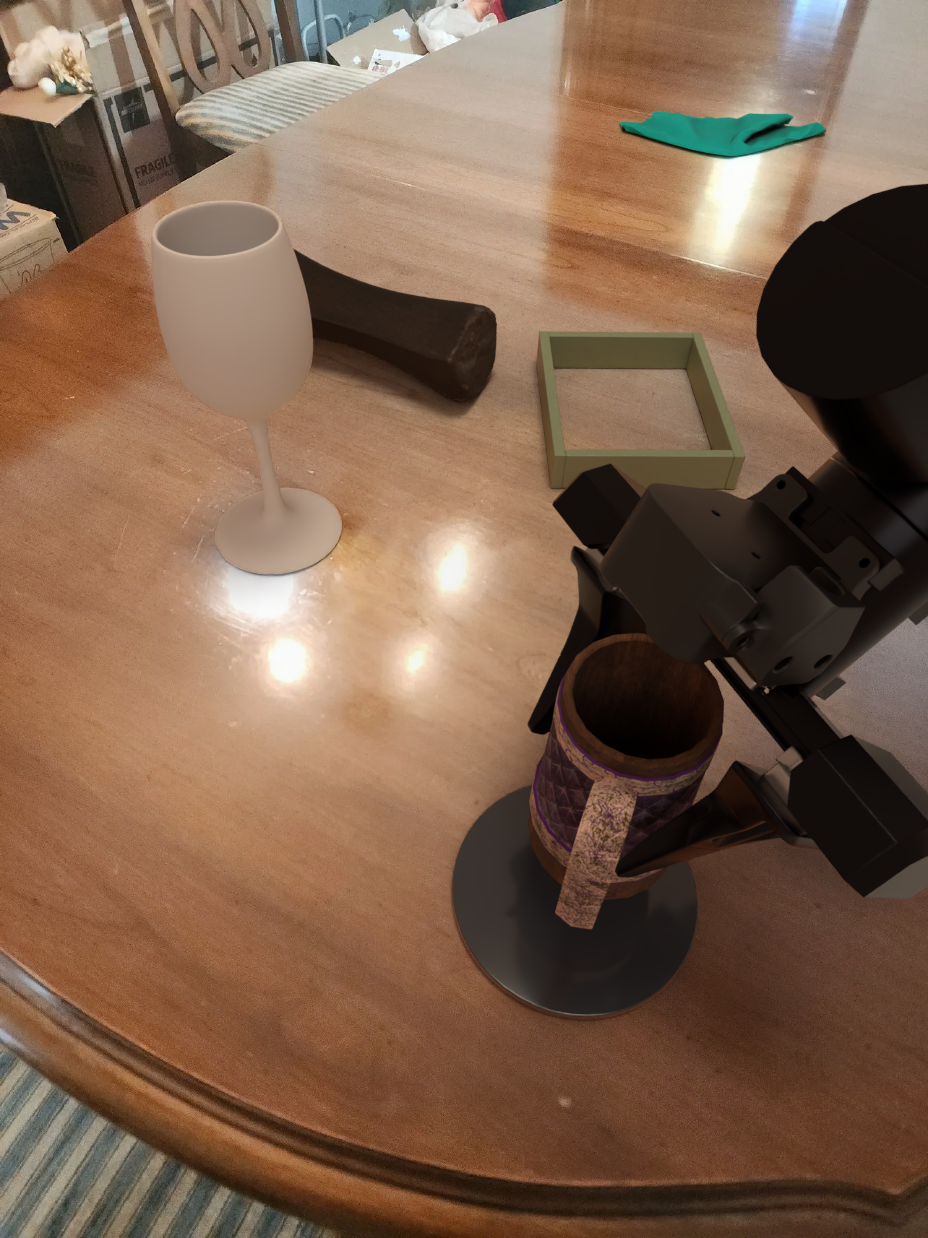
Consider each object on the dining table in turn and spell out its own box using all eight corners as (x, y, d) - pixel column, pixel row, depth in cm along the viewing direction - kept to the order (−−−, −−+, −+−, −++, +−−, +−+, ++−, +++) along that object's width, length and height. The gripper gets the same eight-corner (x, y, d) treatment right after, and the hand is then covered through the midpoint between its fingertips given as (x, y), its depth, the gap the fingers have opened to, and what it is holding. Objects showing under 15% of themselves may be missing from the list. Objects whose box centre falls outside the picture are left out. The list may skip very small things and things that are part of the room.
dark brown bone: (188, 345, 78) (464, 456, 73) (134, 276, 68) (451, 399, 63) (243, 247, 80) (516, 349, 75) (199, 165, 70) (512, 276, 65)
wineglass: (345, 489, 62) (310, 190, 46) (338, 575, 56) (295, 267, 41) (225, 490, 62) (148, 190, 46) (205, 577, 56) (110, 268, 40)
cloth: (613, 147, 105) (615, 127, 103) (624, 108, 114) (626, 89, 112) (831, 169, 102) (837, 148, 100) (824, 127, 111) (830, 107, 109)
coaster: (673, 785, 46) (675, 779, 46) (718, 1020, 38) (721, 1016, 38) (452, 785, 46) (452, 779, 46) (451, 1021, 38) (452, 1017, 38)
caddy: (693, 363, 74) (701, 332, 71) (735, 489, 63) (746, 456, 60) (536, 362, 73) (538, 330, 71) (550, 488, 62) (554, 455, 60)
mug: (555, 744, 43) (584, 591, 34) (691, 796, 42) (763, 651, 32) (476, 930, 37) (485, 808, 28) (631, 999, 36) (696, 894, 26)
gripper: (627, 265, 29) (348, 588, 34) (1106, 667, 17) (580, 1053, 23) (757, 405, 37) (516, 649, 42) (1141, 742, 26) (746, 1014, 31)
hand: (574, 797), depth 34 cm, fingers closed on mug, 7 cm apart
